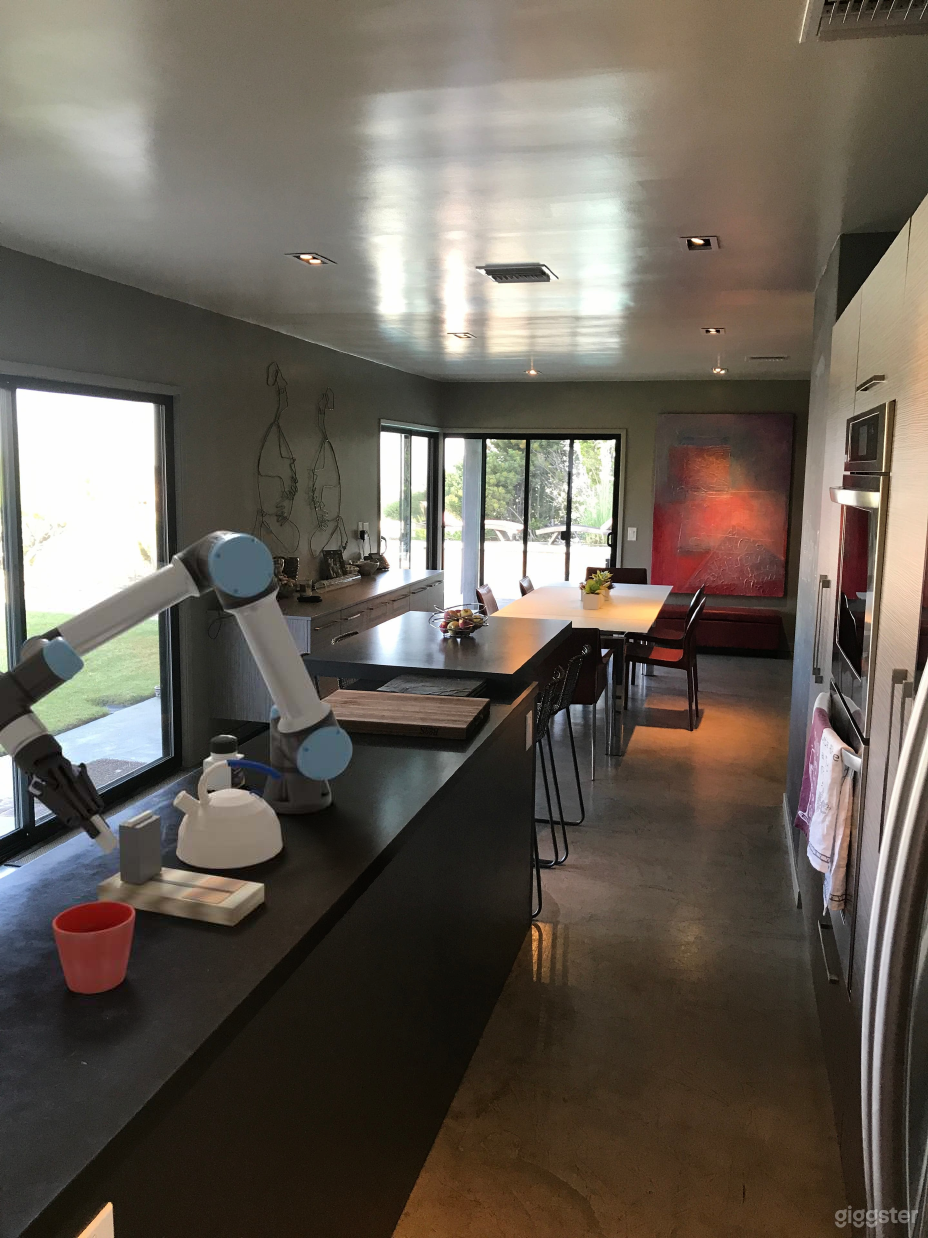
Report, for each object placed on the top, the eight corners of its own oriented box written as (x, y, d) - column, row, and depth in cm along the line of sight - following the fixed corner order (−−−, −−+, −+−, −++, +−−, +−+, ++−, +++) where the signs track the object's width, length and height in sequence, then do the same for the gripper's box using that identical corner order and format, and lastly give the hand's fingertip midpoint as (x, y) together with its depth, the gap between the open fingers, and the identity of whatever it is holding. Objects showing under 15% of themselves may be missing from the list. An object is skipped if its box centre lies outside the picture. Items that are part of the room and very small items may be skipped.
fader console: (98, 901, 160) (97, 884, 159) (135, 878, 169) (135, 862, 169) (233, 926, 152) (233, 908, 151) (264, 900, 161) (264, 883, 161)
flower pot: (69, 962, 139) (66, 900, 138) (144, 961, 140) (143, 899, 139) (43, 1001, 129) (40, 934, 128) (125, 999, 130) (123, 933, 129)
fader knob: (120, 881, 160) (118, 820, 159) (142, 867, 166) (140, 809, 164) (140, 884, 159) (138, 823, 157) (161, 871, 165) (160, 811, 163)
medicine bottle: (231, 792, 217) (231, 742, 215) (203, 790, 218) (202, 740, 217) (245, 783, 224) (244, 734, 222) (217, 781, 225) (216, 732, 223)
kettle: (168, 837, 189) (166, 750, 187) (271, 825, 197) (271, 741, 195) (181, 876, 171) (179, 780, 168) (293, 861, 179) (293, 769, 176)
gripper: (46, 749, 173) (125, 848, 171) (-9, 768, 161) (75, 875, 158) (68, 723, 171) (149, 823, 168) (14, 741, 159) (100, 850, 156)
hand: (113, 848), depth 163 cm, fingers closed
